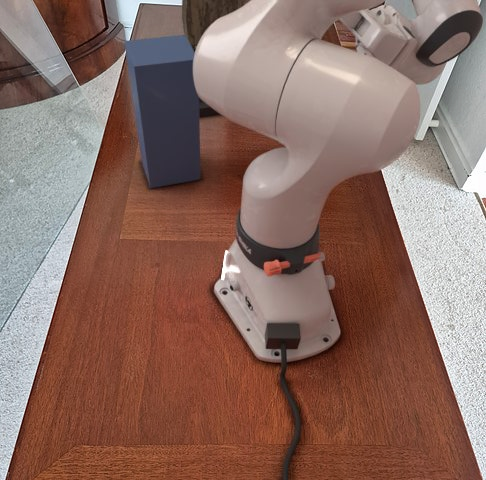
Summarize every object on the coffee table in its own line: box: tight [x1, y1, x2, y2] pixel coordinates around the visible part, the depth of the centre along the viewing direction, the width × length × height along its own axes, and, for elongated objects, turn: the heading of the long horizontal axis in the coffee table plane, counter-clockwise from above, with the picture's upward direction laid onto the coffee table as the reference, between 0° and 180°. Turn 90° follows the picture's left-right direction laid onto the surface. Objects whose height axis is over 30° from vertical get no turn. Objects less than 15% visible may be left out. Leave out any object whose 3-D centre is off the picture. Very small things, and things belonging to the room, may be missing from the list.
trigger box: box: [199, 98, 221, 118], centre depth 105 cm, size 12×10×4 cm
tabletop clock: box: [181, 0, 243, 50], centre depth 109 cm, size 14×9×25 cm, turn 92°
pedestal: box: [123, 34, 202, 189], centre depth 82 cm, size 8×10×24 cm
